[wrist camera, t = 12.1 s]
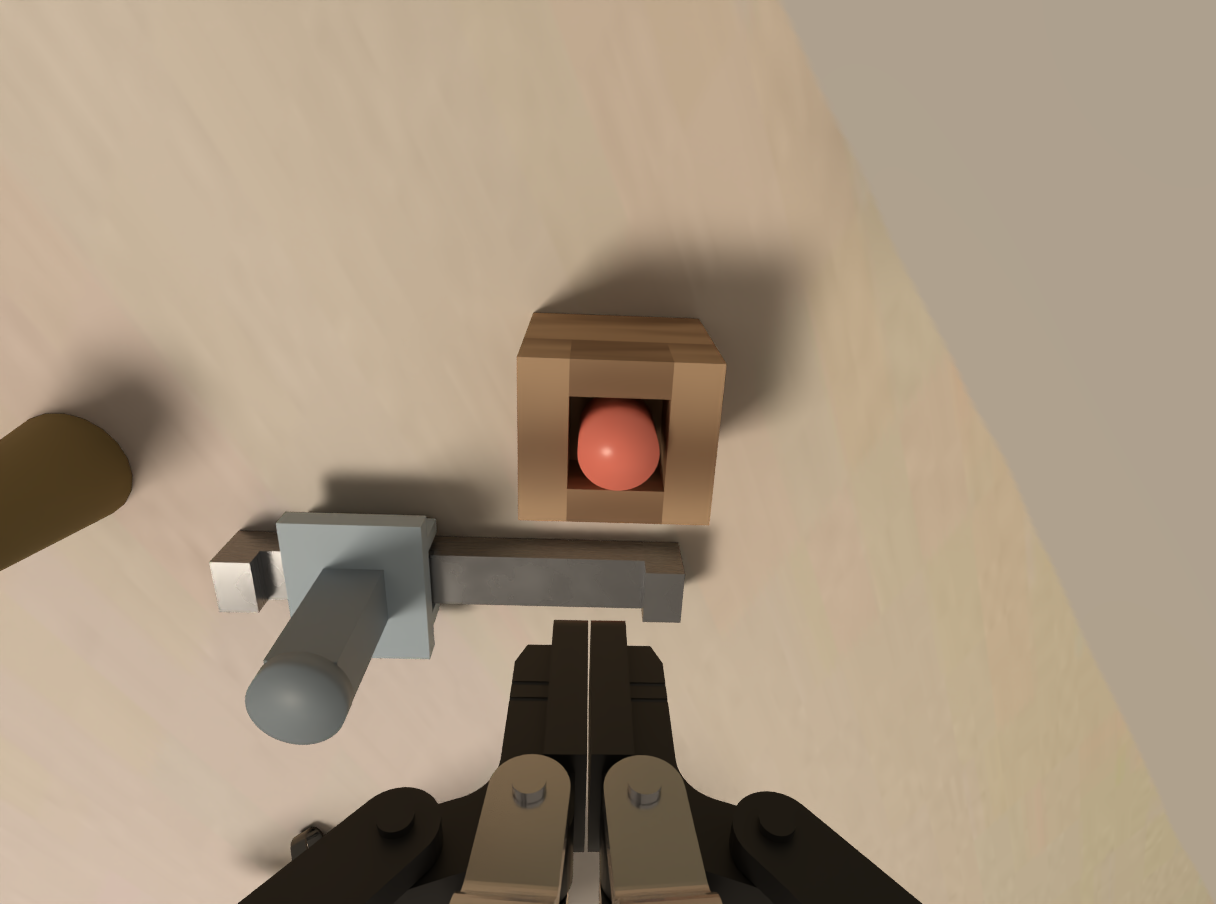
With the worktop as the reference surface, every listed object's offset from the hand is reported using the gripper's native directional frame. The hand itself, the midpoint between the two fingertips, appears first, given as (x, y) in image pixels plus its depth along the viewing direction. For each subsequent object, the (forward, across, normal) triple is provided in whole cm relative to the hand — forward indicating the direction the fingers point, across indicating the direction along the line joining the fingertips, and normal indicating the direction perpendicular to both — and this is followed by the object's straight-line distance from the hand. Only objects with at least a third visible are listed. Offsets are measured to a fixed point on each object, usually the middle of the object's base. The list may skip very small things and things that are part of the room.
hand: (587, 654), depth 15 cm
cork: (+22, +27, +7) cm, 36 cm away
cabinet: (+22, -1, +1) cm, 22 cm away
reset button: (+16, -1, +1) cm, 16 cm away
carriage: (+22, +12, +12) cm, 28 cm away
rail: (+22, +7, +12) cm, 26 cm away
